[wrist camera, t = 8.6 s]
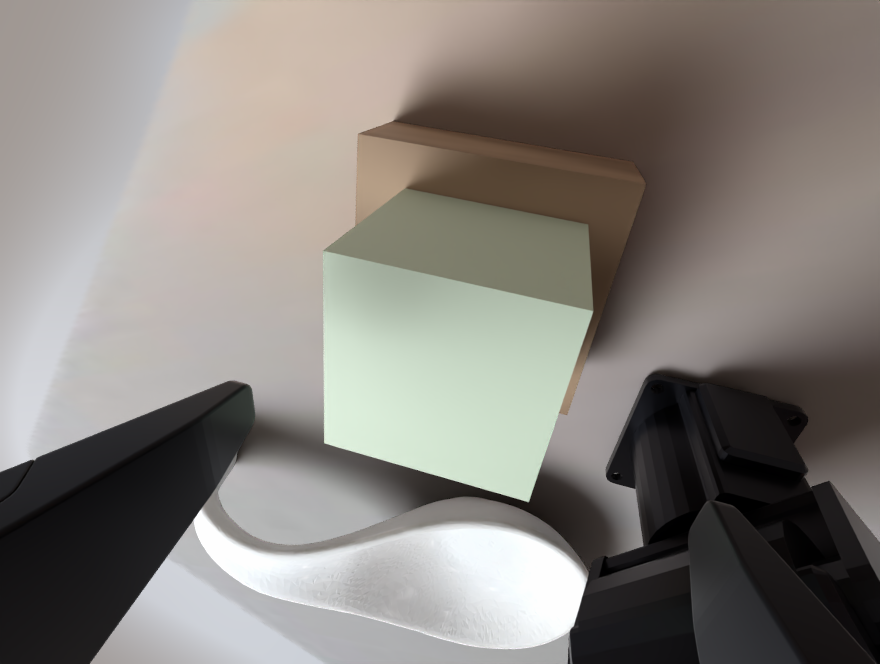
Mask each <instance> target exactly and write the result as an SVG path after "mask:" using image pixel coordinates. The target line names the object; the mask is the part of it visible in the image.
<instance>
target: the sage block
mask: <svg viewBox="0 0 880 664" xmlns="http://www.w3.org/2000/svg"><path fill="white" fill-rule="evenodd" d="M592 314H593V296H592V280H591V263H590V246H589V229H588V224H583V223H578V222H573V221H568V220H563V219H558V218H553V217H548V216H543V215H538V214H533V213H528V212H523V211H518V210H513V209H508V208H503V207H498V206H492V205H487V204H482V203H477V202H472V201H467V200H462V199H457V198H452V197H447V196H442V195H437V194H432V193H427V192H422V191H417V190H412V189H407V188H405V189H403V190H402V191H401V192H399V193H398V194H397V195H395V196H394V197H393V198H392V199H390V200H389V201H388V202H386V203H385V204H384V205H382V206H381V207H380V208H378V209H377V210H376V211H375V212H373V213H372V214H371V215H369V216H368V217H367V218H365V219H364V220H363V221H361V222H360V223H359V224H358V225H356V226H355V227H354V228H352V229H351V230H350V231H348V232H347V233H346V234H344V235H343V236H342V237H340V238H339V239H338V240H337V241H335V242H334V243H333V244H331V245H330V246H329V247H327V248H326V249H325V250H323V320H324V443H325V444H328V445H332V446H335V447H339V448H342V449H346V450H349V451H353V452H356V453H360V454H363V455H367V456H370V457H374V458H377V459H381V460H384V461H387V462H391V463H394V464H398V465H401V466H405V467H408V468H412V469H415V470H419V471H422V472H426V473H429V474H433V475H436V476H440V477H443V478H447V479H450V480H454V481H457V482H461V483H464V484H468V485H471V486H475V487H478V488H482V489H485V490H488V491H492V492H495V493H499V494H502V495H506V496H509V497H513V498H516V499H520V500H523V501H527V502H529V499H530V496H531V494H532V491H533V488H534V485H535V482H536V479H537V476H538V473H539V470H540V467H541V464H542V461H543V458H544V455H545V452H546V449H547V446H548V443H549V441H550V438H551V435H552V432H553V429H554V426H555V423H556V420H557V417H558V414H559V411H560V408H561V405H562V402H563V399H564V396H565V393H566V390H567V388H568V385H569V382H570V379H571V376H572V373H573V370H574V367H575V364H576V361H577V358H578V355H579V352H580V349H581V346H582V343H583V340H584V337H585V335H586V332H587V329H588V326H589V323H590V320H591V317H592Z"/></svg>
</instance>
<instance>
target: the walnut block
mask: <svg viewBox="0 0 880 664" xmlns="http://www.w3.org/2000/svg"><path fill="white" fill-rule="evenodd" d="M645 187H646V183H645V181H644V179H643V178H642V176H641V174H640V172H639V171H638V169H637V167H636V166H635V164H634V162H631V161H625V160H620V159H614V158H608V157H602V156H596V155H590V154H584V153H578V152H572V151H566V150H560V149H554V148H549V147H543V146H537V145H531V144H525V143H519V142H513V141H507V140H501V139H495V138H489V137H483V136H478V135H472V134H466V133H460V132H454V131H448V130H442V129H436V128H430V127H424V126H418V125H412V124H407V123H401V122H395V121H392V122H390V123H387V124H384V125H381V126H379V127H376V128H373V129H370V130H367V131H365V132H362V133H359V134H358V147H357V184H356V221H355V226H356V225H358V224H359V223H360V222H361V221H363V220H364V219H365V218H367V217H368V216H369V215H371V214H372V213H373V212H375V211H376V210H377V209H378V208H380V207H381V206H382V205H384V204H385V203H386V202H388V201H389V200H390V199H392V198H393V197H394V196H395V195H397V194H398V193H399V192H401V191H402V190H403V189H405V188H407V189H412V190H417V191H422V192H427V193H432V194H437V195H442V196H447V197H452V198H457V199H462V200H467V201H472V202H477V203H482V204H487V205H492V206H498V207H503V208H508V209H513V210H518V211H523V212H528V213H533V214H538V215H543V216H548V217H553V218H558V219H563V220H568V221H573V222H578V223H583V224H588V229H589V246H590V263H591V280H592V296H593V314H592V317H591V320H590V323H589V326H588V329H587V332H586V335H585V337H584V340H583V343H582V346H581V349H580V352H579V355H578V358H577V361H576V364H575V367H574V370H573V373H572V376H571V379H570V382H569V385H568V388H567V390H566V393H565V396H564V399H563V402H562V405H561V408H560V411H559V413H561V414H565V415H567V414H568V411H569V408H570V405H571V402H572V399H573V396H574V394H575V391H576V388H577V385H578V382H579V379H580V376H581V373H582V370H583V367H584V364H585V361H586V359H587V356H588V353H589V350H590V347H591V344H592V341H593V338H594V335H595V332H596V329H597V327H598V324H599V321H600V318H601V315H602V312H603V309H604V306H605V303H606V300H607V297H608V295H609V292H610V289H611V286H612V283H613V280H614V277H615V274H616V271H617V268H618V265H619V262H620V260H621V257H622V254H623V251H624V248H625V245H626V242H627V239H628V236H629V233H630V230H631V228H632V225H633V222H634V219H635V216H636V213H637V210H638V207H639V204H640V201H641V198H642V196H643V193H644V190H645Z"/></svg>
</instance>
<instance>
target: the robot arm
mask: <svg viewBox="0 0 880 664" xmlns="http://www.w3.org/2000/svg"><path fill="white" fill-rule="evenodd" d="M655 384H660V385H662V386H661V387H659V388H652V386H653V385H655ZM793 416H795V417H796V418H795V419H792V420H787V419H789V418H790V417H793ZM254 420H255V409H254V401H253V394H252V388H251V387H250V385H248V384H245V383H241V382H237V381H228V382H225V383H222V384H220V385H217V386H215V387H212V388H210V389H207V390H205V391H202V392H200V393H197V394H195V395H192V396H190V397H187V398H185V399H182V400H180V401H177V402H175V403H172V404H170V405H167V406H165V407H162V408H160V409H157V410H155V411H152V412H150V413H147V414H145V415H142V416H140V417H137V418H135V419H132V420H130V421H127V422H125V423H122V424H120V425H117V426H115V427H112V428H110V429H107V430H105V431H102V432H100V433H97V434H95V435H92V436H90V437H87V438H85V439H82V440H80V441H77V442H75V443H72V444H70V445H67V446H65V447H62V448H60V449H57V450H55V451H52V452H50V453H47V454H45V455H42V456H40V457H38V458H36V460H35V461H34V460H29V461H27V462H25V463H22V464H20V465H17V466H15V467H13V468H10V469H7V470H5V471H2V472H0V664H90V663H91V661H92V660H93V658H94V657H95V656H96V654H97V653H98V652H99V650H100V649H101V647H102V646H103V645H104V643H105V641H106V640H107V639H108V638H109V636H110V635H111V634H112V632H113V631H114V629H115V628H116V627H117V625H118V624H119V622H120V621H121V620H122V618H123V617H124V616H125V614H126V613H127V611H128V610H129V609H130V607H131V605H132V604H133V603H134V602H135V600H136V599H137V598H138V596H139V595H140V593H141V592H142V590H143V589H144V588H145V586H146V585H147V584H148V582H149V581H150V579H151V578H152V577H153V575H154V574H155V572H156V571H157V570H158V568H159V567H160V566H161V564H162V563H163V561H164V560H165V559H166V557H167V556H168V555H169V553H170V552H171V550H172V549H173V548H174V546H175V545H176V543H177V542H178V541H179V539H180V538H181V537H182V535H183V534H184V532H185V531H186V530H187V528H188V527H189V525H190V524H191V523H192V521H193V520H194V519H195V517H196V516H197V514H198V513H199V512H200V510H201V509H202V507H203V506H204V505H205V503H206V502H207V501H208V499H209V498H210V496H211V495H212V493H213V492H214V490H215V489H216V488H217V486H218V484H219V483H220V481H221V479H222V478H223V476H224V474H225V473H226V471H227V469H228V467H229V466H230V464H231V462H232V460H233V459H234V457H235V455H236V454H237V452H238V450H239V448H240V447H241V445H242V443H243V441H244V440H245V438H246V436H247V434H248V433H249V431H250V429H251V427H252V425H253V423H254ZM807 423H808V417H807V415H806V414H805V412H804V411H803V410H802V409H801V408H800V407H797V406H794V405H790V404H785V403H781V402H777V401H772V400H769V399H768V398H767V397H765V396H761V395H757V394H752V393H748V392H744V391H739V390H735V389H731V388H726V387H722V386H718V385H713V384H709V383H704V384H699V383H694V382H690V381H686V380H681V379H677V378H673V377H669V376H664V375H660V374H654V375H650V376H648V377H647V378H646V379H645V380H644V382H643V385H642V387H641V389H640V391H639V394H638V396H637V398H636V401H635V403H634V405H633V407H632V410H631V412H630V414H629V417H628V419H627V421H626V423H625V426H624V428H623V430H622V432H621V435H620V437H619V439H618V442H617V444H616V446H615V448H614V451H613V453H612V455H611V458H610V460H609V462H608V464H607V467H606V477H607V479H608V480H609V481H610V482H612V483H615V484H619V485H622V486H626V487H630V488H634V489H636V495H637V502H638V509H639V517H640V524H641V531H642V538H643V545H644V546H643V547H640V548H637V549H634V550H631V551H628V552H625V553H622V554H619V555H616V556H613V557H610V558H608V557H606V556H604V557H601V558H598V559H595V560H593V562H592V565H591V568H590V572H589V575H588V579H587V582H586V586H585V589H584V592H583V596H582V599H581V603H580V606H579V610H578V613H577V617H576V620H575V623H574V627H572V628H571V629H570V633H569V638H568V641H569V648H568V664H880V542H879V541H878V540H877V538H876V537H875V536H874V535H873V533H872V532H871V531H870V530H869V528H868V527H867V526H866V525H865V524H864V522H863V521H862V520H861V519H860V517H859V516H858V515H857V514H856V513H855V511H854V510H853V509H852V508H851V506H850V505H849V504H848V503H847V502H846V500H845V499H844V498H843V497H842V495H841V494H840V493H839V492H838V491H837V489H836V488H835V487H834V486H833V484H832V483H831V482H830V481H827V482H824V483H821V484H818V485H815V486H812V487H810V486H809V484H808V482H807V480H806V478H805V476H806V474H807V473H808V468H807V467H806V465H805V463H804V461H803V460H802V458H801V456H800V454H799V452H798V451H797V449H796V447H795V445H794V444H793V443H794V442H795V440H796V439H797V438H798V436H799V435H800V433H801V432H802V431H803V429H804V428H805V426H806V425H807ZM615 472H616V473H619V474H614V473H615Z"/></svg>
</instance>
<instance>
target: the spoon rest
mask: <svg viewBox="0 0 880 664" xmlns="http://www.w3.org/2000/svg"><path fill="white" fill-rule="evenodd" d="M236 459H237V454H236V455H235V457H234V459H233V460H232V462H231V464H230V466H229V467H228V469H227V471H226V473H225V474H224V476H223V478H222V479H221V481H220V483H219V484H218V486H217V488H216V489H215V490H214V492H213V493H212V495H211V496H210V498H209V499H208V501H207V502H206V503H205V505H204V506H203V507H202V509H201V510H200V512H199V513H198V514H197V516H196V517H195V519H194V525H195V530H196V533H197V535H198V537H199V539H200V541H201V543H202V545H203V546H204V548H205V549H206V551H207V552H208V554H209V555H210V556H211V557H212V559H213V560H214V561H215V562H216V563H217V564H218V565H219V566H220V567H221V568H222V569H223V570H225V571H226V572H227V573H228V574H230V575H231V576H232V577H234V578H235V579H237V580H238V581H239V582H241V583H242V584H244V585H246V586H248V587H250V588H252V589H254V590H256V591H258V592H260V593H263V594H265V595H269V596H272V597H275V598H279V599H283V600H287V601H292V602H296V603H300V604H304V605H309V606H315V607H319V608H325V609H331V610H336V611H340V612H346V613H350V614H355V615H359V616H363V617H368V618H372V619H375V620H379V621H382V622H387V623H390V624H393V625H397V626H400V627H404V628H407V629H411V630H415V631H419V632H421V633H424V634H426V635H430V636H433V637H436V638H440V639H444V640H448V641H451V642H455V643H459V644H463V645H469V646H475V647H482V648H494V649H520V648H529V647H535V646H539V645H543V644H546V643H549V642H551V641H554V640H556V639H558V638H560V637H562V636H564V635H565V634H567V633H568V632H569V631H570V629H571V628H572V627H574V623H575V620H576V617H577V613H578V610H579V606H580V603H581V599H582V596H583V592H584V589H585V586H586V582H587V579H588V575H589V573H588V571H587V569H586V567H585V565H584V564H583V562H582V561H581V559H580V558H579V556H578V555H577V554H576V552H575V551H574V550H573V549H572V547H571V546H570V545H569V544H568V543H567V542H566V541H565V540H564V539H563V537H562V536H561V535H560V534H559V533H558V532H556V531H555V530H554V529H553V528H552V527H550V526H549V525H548V524H546V523H545V522H543V521H542V520H541V519H539V518H538V517H536V516H534V515H532V514H530V513H528V512H526V511H524V510H522V509H519V508H517V507H514V506H511V505H508V504H505V503H501V502H497V501H492V500H488V499H484V498H479V497H468V496H465V497H456V498H452V499H445V500H440V501H437V502H433V503H430V504H427V505H424V506H421V507H419V508H416V509H414V510H411V511H409V512H406V513H404V514H401V515H399V516H396V517H393V518H391V519H388V520H386V521H383V522H380V523H378V524H375V525H373V526H370V527H367V528H365V529H362V530H359V531H356V532H354V533H351V534H347V535H344V536H340V537H337V538H333V539H330V540H326V541H322V542H316V543H311V544H303V545H283V544H275V543H270V542H266V541H263V540H261V539H258V538H256V537H254V536H252V535H250V534H249V533H247V532H246V531H244V530H243V529H242V528H241V527H239V526H238V525H237V524H236V523H235V522H234V521H233V520H232V519H231V518H230V517H229V516H228V514H227V513H226V512H225V510H224V509H223V507H222V505H221V502H220V500H219V496H218V490H219V488H220V486H221V485H222V483H223V482H224V480H225V479H226V477H227V476H228V475H229V473H230V471H231V470H232V468H233V467H234V465H235V463H236Z"/></svg>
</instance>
